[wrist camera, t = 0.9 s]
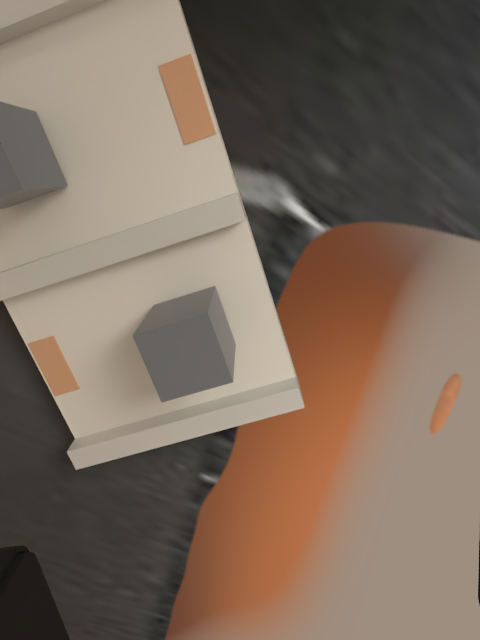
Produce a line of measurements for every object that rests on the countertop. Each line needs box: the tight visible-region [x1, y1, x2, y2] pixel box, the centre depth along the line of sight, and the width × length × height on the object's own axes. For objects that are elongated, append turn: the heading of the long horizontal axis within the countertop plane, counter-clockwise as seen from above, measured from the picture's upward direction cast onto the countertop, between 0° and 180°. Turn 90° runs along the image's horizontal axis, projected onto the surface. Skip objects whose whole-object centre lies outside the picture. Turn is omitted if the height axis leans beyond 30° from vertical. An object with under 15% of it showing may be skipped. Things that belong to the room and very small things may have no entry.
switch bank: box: [0, 0, 305, 470], centre depth 26 cm, size 16×26×4 cm, turn 18°
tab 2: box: [132, 286, 236, 403], centre depth 24 cm, size 4×4×5 cm
